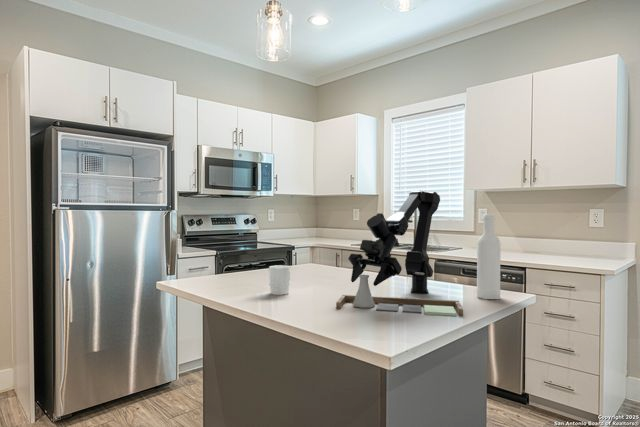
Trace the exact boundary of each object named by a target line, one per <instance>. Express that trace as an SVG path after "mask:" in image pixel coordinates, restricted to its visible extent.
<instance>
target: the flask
mask: <svg viewBox="0 0 640 427" xmlns="http://www.w3.org/2000/svg"><path fill="white" fill-rule="evenodd" d="M369 277H370V275H369V274H361V275H359V277H358V278H359V284H358V287H357V288H358V289H357V292H356V294H355V296H356V297H355V300H354V302H352V306H353V307H355V308H362V309H367V308H368V309H369V308H370V309H371V308H373V307H376V305H375V304H376V303H374V301H373V298H372V296H373V295H372V293H371V289H370V286H369Z"/></svg>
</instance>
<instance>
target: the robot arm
mask: <svg viewBox="0 0 640 427" xmlns="http://www.w3.org/2000/svg"><path fill="white" fill-rule="evenodd" d="M440 202H441V196H440V195H439V194H438V192H436V191H422V190H413V191H409V193H408V196H407V198H406V199H405V201H404V202H403V204H402V205H401V206H400V208H399V209H398V211H397V212H395V213H394V214H392V215H390V216H389V217H388V218H387V219H386V218H385V216H384V213H382V212H381V213H379V212H378V213H377V214H376V215H373V216H372V217H370V218H369V219H368V220H367V221H366V226H367V227H368V228H369V231H370V232H371V233H372V235H373V237H374V238H375V239H376V240H369V239H362V240H361V243H360V247H359V250H361V251H363V252H364V255H365V258H364V257H363V255H362V254H361V253H355V252H354V253H350V255H349V256H348V258H347V259H348V261H349V263H351V265H352V271H351V277H350V281H351V283H354V282H355V281H357V280H358V278H360V277H359V275H363V273H364V271H365V269H366V268H367V266H373V267H377V268H380V269H379V271H378V273H377V275H376V276H375V279H374V281H373V283H372V284H373V286H374V287H376V286H378V285H380V284H381V283H383V282H385V281H386V280H388V279H389V278H391V277H395V276H396V275H400V274H401V272H402V270H403V269H402V265H401V264H400V263H399V261H398V259H397V257H395V256H394V257H393V256H392V254H391V252H392V250H393V249H394V247H399V246H400V243H399V240H398V238H397V237H396V236H405V234H406V232H407V230H408V228H409V220H410V218H411V217H412V216H413V214H414V213H415V212H416V210H418V212H419V214H418V218H417V226H416V231H415V236H414V241H413V247H412V249H411V250H407V251H406V256H405V260H404V267H405V270H406V272H405V273H406V275H407V276H411V288H410V293H413V294H414V293H417V294H418V293H419V294H429V292H430V291H429V289H428V278H432V277H433V274H434V270H433V268H432V266H431V264H430V257H429V255H428V253H427V248H428V242H429V236H430V230H431V223H432V219H433V218H432V217H433V215H434V214H435V213H436V211H437V210H438V209H439V204H440ZM366 257H367V258H366Z"/></svg>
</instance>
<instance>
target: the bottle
mask: <svg viewBox="0 0 640 427" xmlns="http://www.w3.org/2000/svg"><path fill="white" fill-rule="evenodd" d="M482 220H483V233H482V234H481V235H480V236H478V237H479V238H478V239H477V244H476V246H477V249H476V258H477V259H476V297H477V298H478V299H481V298H482V299H481V300H487V299H498V300H500V299H501V240H500V238H499V236H497V234H496V233H495V220H496V217H495V214H493V213H484V214H483V219H482Z"/></svg>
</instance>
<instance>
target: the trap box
mask: <svg viewBox="0 0 640 427" xmlns="http://www.w3.org/2000/svg"><path fill="white" fill-rule="evenodd" d="M355 297H356V295H355V294H354V295H350V294H349V295H348V294H342V295H341V296H340V297H339V299H338V300H336V302H335V303H336V305H335V309H337V310H338V309H339V310H340V309H342V307H343V305H344V304H345V303H347V302H348V303H354V300H355ZM372 298H373V301H374V304H377V307H376V311H379V312H392V313H393V312H397V313H398V312H399V307H400V305H401V306H402V313H410V314H411V313H412V314H422V307H424V305H434V306H453V307H454V309H455V312H456V314H457V315H458V316H459V317H463V316H464V309H463V306H462V305H461V302H460V300H454V299H453V300H448V299H435V298H434V299H433V298H430V299H429V298H412V297H411V298H409V297H395V296H394V297H393V296H392V297H391V296H390V297H389V296H373V295H372Z"/></svg>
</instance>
